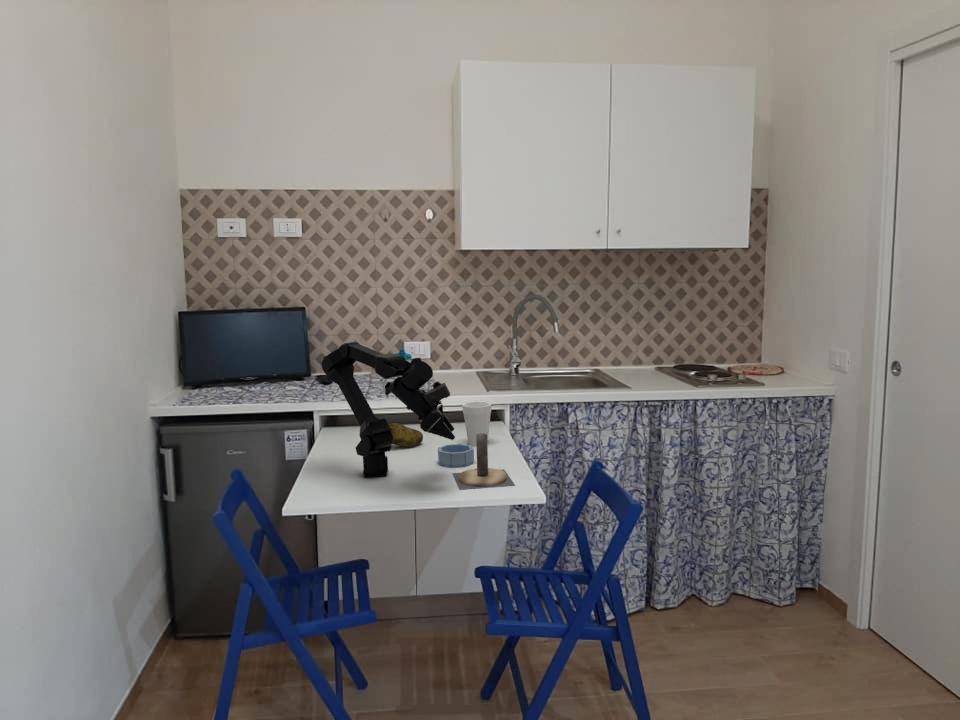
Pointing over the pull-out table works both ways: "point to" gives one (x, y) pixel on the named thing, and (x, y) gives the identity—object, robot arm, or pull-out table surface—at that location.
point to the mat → (465, 487)
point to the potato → (405, 435)
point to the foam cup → (476, 419)
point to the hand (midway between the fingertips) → (453, 434)
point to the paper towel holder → (482, 468)
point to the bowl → (455, 455)
